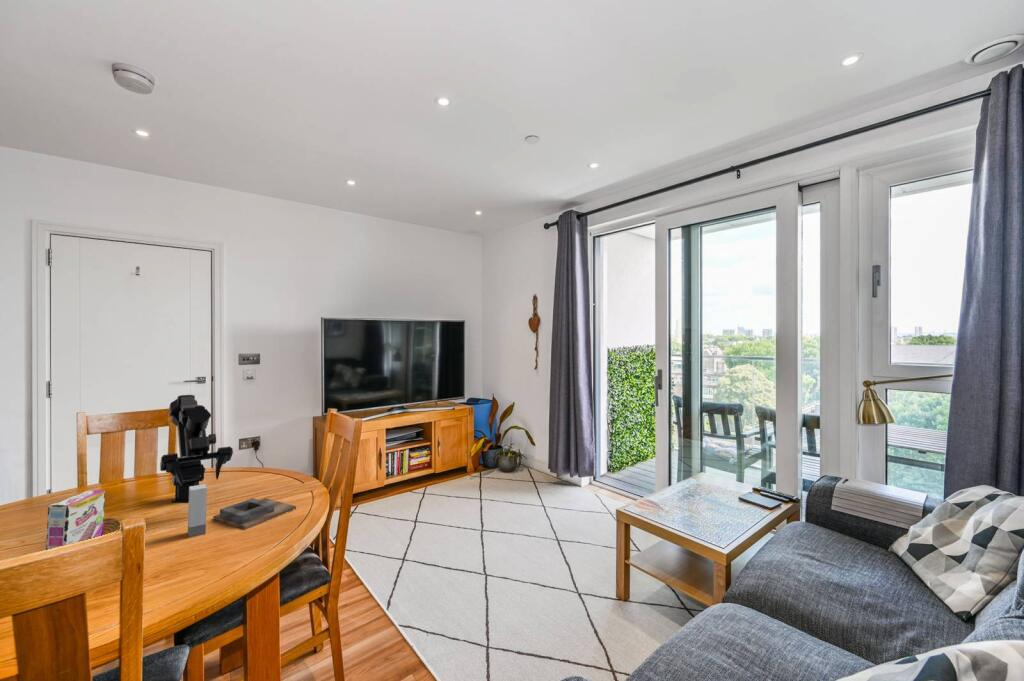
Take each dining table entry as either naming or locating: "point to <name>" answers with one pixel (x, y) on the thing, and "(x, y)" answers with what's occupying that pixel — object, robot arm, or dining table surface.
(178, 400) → the robot arm
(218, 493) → the dining table surface
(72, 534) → the candy bar box
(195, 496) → the white block
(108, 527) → the pastry
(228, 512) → the grey square socket base
